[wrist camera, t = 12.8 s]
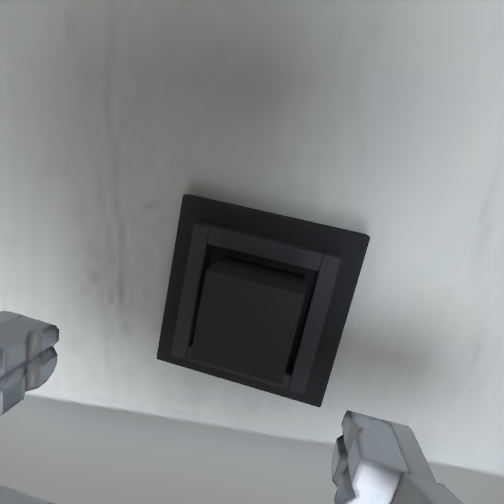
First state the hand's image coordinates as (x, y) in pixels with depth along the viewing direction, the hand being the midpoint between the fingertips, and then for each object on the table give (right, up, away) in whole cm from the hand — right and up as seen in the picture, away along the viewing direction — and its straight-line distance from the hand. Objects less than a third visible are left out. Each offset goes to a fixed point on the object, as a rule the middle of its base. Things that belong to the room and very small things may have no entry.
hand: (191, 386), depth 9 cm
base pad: (+2, +1, +8) cm, 8 cm away
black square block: (+2, +1, +7) cm, 8 cm away
